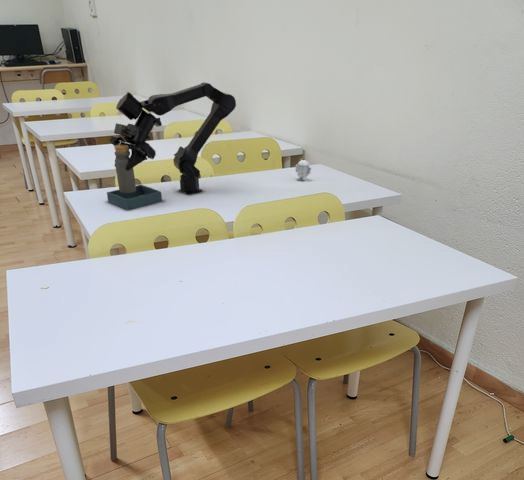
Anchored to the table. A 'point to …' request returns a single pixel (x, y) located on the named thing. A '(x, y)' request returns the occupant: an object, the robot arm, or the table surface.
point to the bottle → (124, 170)
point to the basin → (147, 197)
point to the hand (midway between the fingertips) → (121, 168)
